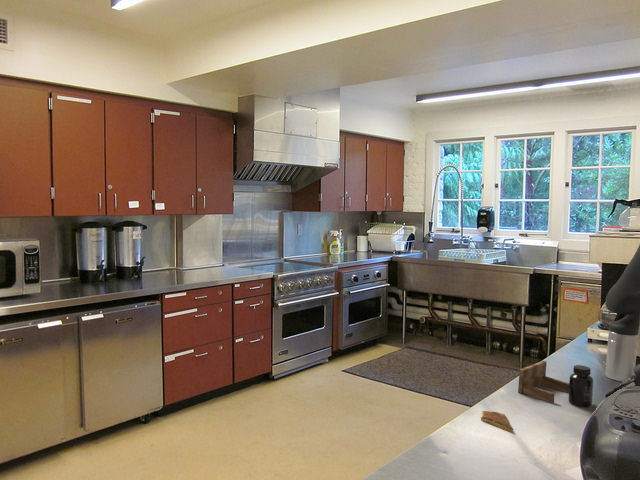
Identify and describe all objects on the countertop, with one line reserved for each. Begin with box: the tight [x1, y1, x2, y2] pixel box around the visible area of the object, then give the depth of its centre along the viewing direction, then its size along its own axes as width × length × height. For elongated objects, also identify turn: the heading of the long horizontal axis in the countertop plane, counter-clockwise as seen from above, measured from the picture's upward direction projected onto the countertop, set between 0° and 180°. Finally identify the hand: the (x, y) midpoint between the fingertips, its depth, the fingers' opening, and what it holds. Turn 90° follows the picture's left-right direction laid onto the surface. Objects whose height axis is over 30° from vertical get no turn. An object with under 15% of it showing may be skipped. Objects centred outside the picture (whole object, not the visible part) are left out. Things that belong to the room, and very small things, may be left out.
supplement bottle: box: [568, 364, 594, 408], centre depth 160 cm, size 7×7×12 cm
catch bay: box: [517, 360, 569, 404], centre depth 169 cm, size 16×11×8 cm
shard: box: [480, 410, 514, 433], centre depth 145 cm, size 11×8×2 cm
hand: (607, 398), depth 154 cm, fingers closed
